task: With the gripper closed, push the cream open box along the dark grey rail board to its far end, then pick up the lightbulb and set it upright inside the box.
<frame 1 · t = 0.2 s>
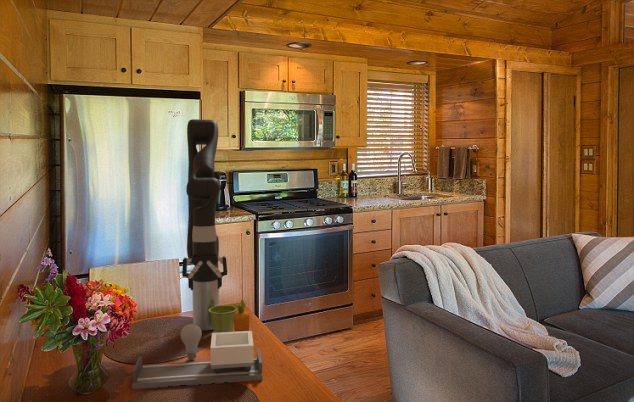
hand: (205, 289, 167), 17 cm above the table, tool pointing down, fingers open, 8 cm apart
carrot: (241, 347, 164), on the table
cream open box: (232, 352, 144), point 6 cm above the table, slide at 9.0 cm
plant pot: (223, 334, 176), on the table
rail board: (199, 374, 143), on the table
lightbulb: (191, 360, 154), on the table
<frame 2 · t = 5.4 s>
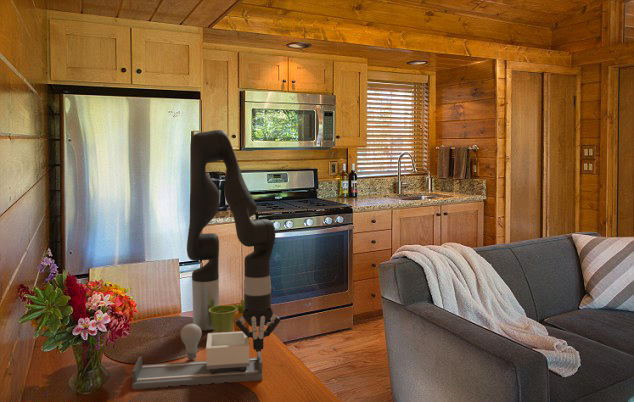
hand: (258, 350, 146), 6 cm above the table, tool pointing down, fingers closed
cream open box: (228, 352, 144), point 6 cm above the table, slide at 7.8 cm, touching gripper
everything else where it was.
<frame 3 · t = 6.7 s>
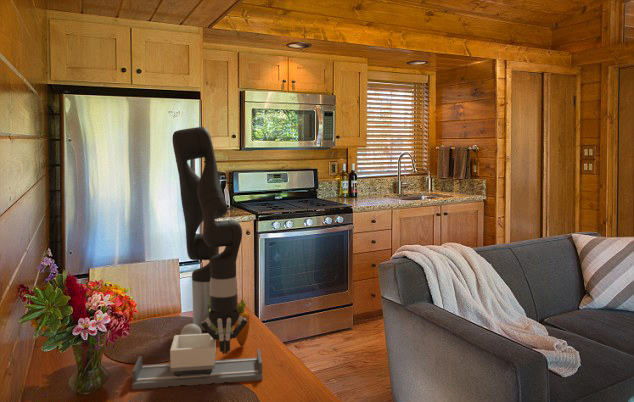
hand: (224, 352, 144), 6 cm above the table, tool pointing down, fingers closed
cream open box: (194, 354, 143), point 6 cm above the table, slide at -1.4 cm, touching gripper
everything else where it was.
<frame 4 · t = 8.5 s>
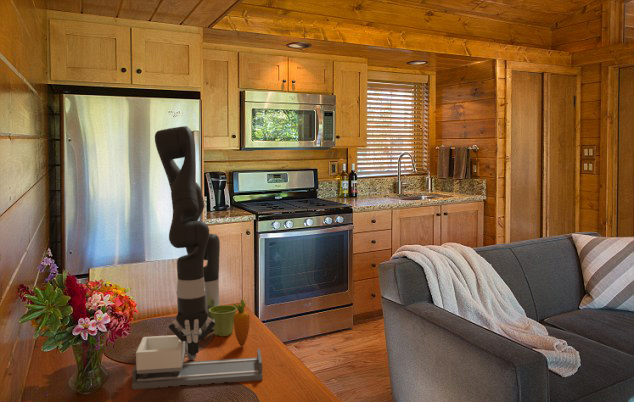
hand: (193, 354, 143), 6 cm above the table, tool pointing down, fingers closed
cream open box: (161, 356, 141), point 6 cm above the table, slide at -10.0 cm, touching gripper
everything else where it was.
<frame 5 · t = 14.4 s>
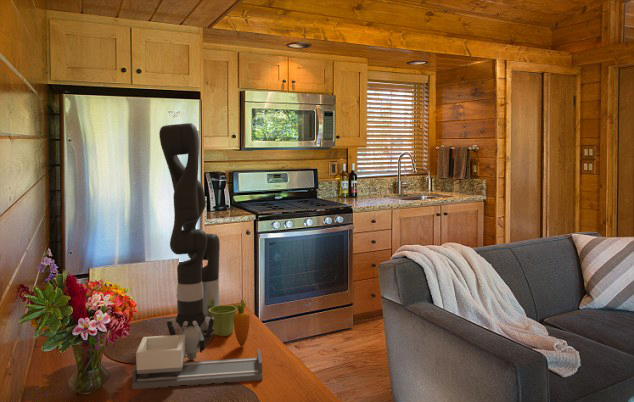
hand: (191, 352, 153), 2 cm above the table, tool pointing down, fingers closed on lightbulb, 5 cm apart
cream open box: (162, 356, 141), point 6 cm above the table, slide at -10.0 cm
lightbulb: (191, 360, 154), on the table, touching gripper
everything else where it was.
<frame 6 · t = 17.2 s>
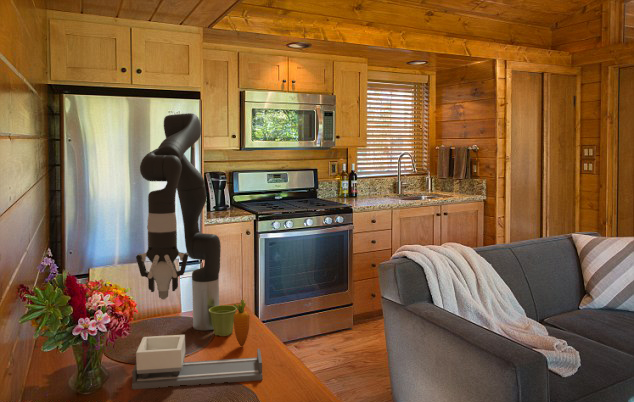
hand: (163, 290, 140), 24 cm above the table, tool pointing down, fingers closed on lightbulb, 5 cm apart
lightbulb: (163, 300, 141), point 22 cm above the table, touching gripper
everything else where it was.
when the fingers open (11 cm above the table, at t = 20.2 s): lightbulb drops 2 cm, resting on cream open box.
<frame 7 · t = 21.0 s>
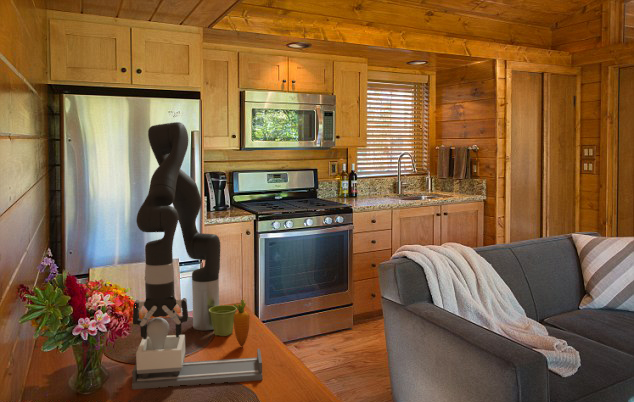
hand: (161, 337, 141), 11 cm above the table, tool pointing down, fingers open, 8 cm apart
cream open box: (162, 356, 141), point 6 cm above the table, slide at -10.0 cm, touching lightbulb
lightbulb: (158, 357, 141), point 6 cm above the table, touching cream open box, gripper
everything else where it was.
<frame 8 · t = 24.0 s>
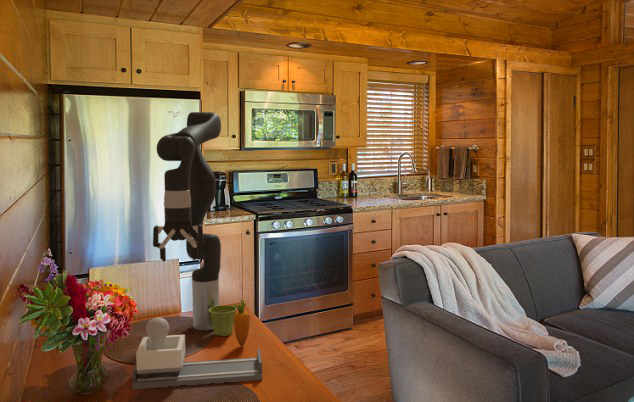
hand: (179, 260, 151), 30 cm above the table, tool pointing down, fingers open, 8 cm apart
lightbulb: (158, 357, 141), point 6 cm above the table, touching cream open box
everything else where it was.
at the end: lightbulb 1.1 cm off-centre on the cream open box, point 3.6 cm above the cream open box's base; cream open box slide at -10.0 cm; lightbulb tilted 1° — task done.
